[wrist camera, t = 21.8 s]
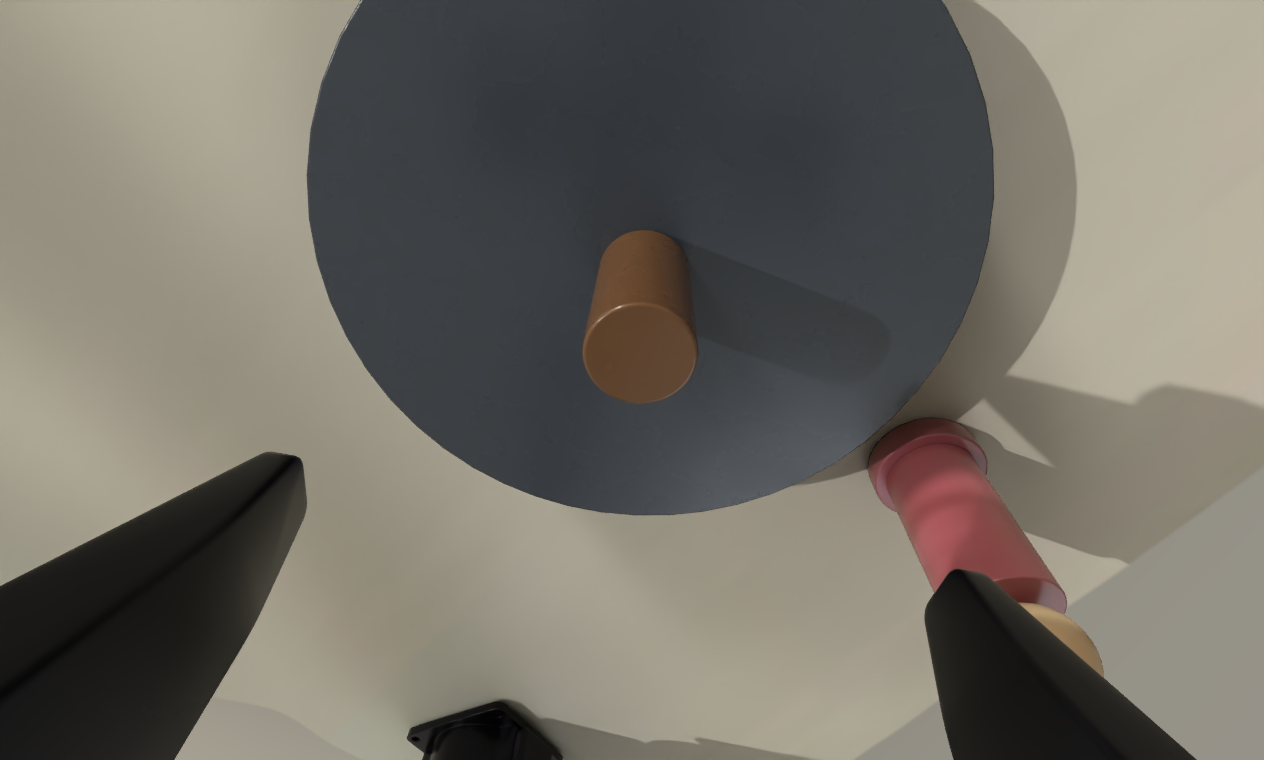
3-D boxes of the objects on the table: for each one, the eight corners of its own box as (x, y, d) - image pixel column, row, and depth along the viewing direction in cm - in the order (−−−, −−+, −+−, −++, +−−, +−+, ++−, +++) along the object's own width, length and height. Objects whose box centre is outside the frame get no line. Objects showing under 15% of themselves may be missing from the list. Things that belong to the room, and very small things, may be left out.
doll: (885, 512, 26) (998, 772, 17) (853, 442, 24) (962, 695, 15) (987, 477, 24) (1162, 738, 16) (961, 401, 23) (1144, 649, 14)
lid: (550, 553, 24) (523, 692, 19) (181, 122, 16) (-18, 178, 11) (1036, 372, 19) (1161, 498, 14) (847, -376, 11) (987, -644, 6)
